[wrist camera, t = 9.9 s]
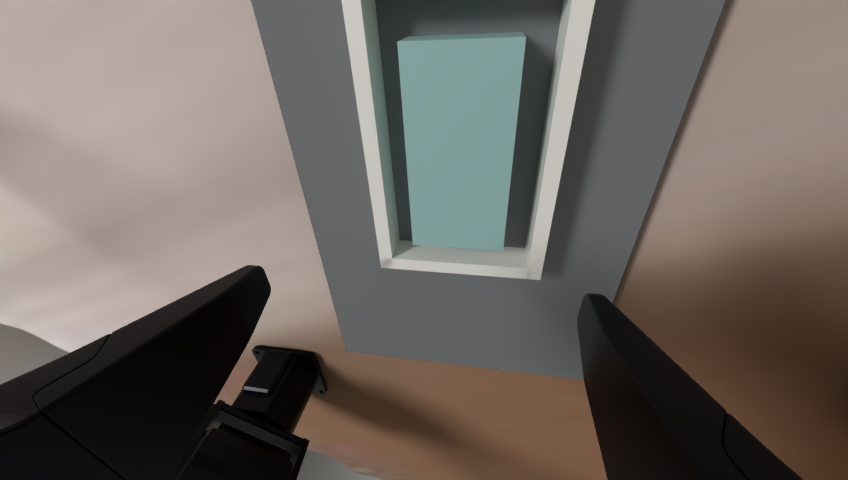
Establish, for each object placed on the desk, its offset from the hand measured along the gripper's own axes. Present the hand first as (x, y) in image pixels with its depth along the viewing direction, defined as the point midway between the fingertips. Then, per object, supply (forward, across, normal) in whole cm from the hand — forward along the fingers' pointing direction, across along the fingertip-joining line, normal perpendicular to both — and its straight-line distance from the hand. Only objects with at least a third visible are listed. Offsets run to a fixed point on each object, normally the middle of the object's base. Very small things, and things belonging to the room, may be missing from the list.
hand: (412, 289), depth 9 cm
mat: (+12, 0, +5) cm, 13 cm away
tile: (+11, 0, 0) cm, 11 cm away
